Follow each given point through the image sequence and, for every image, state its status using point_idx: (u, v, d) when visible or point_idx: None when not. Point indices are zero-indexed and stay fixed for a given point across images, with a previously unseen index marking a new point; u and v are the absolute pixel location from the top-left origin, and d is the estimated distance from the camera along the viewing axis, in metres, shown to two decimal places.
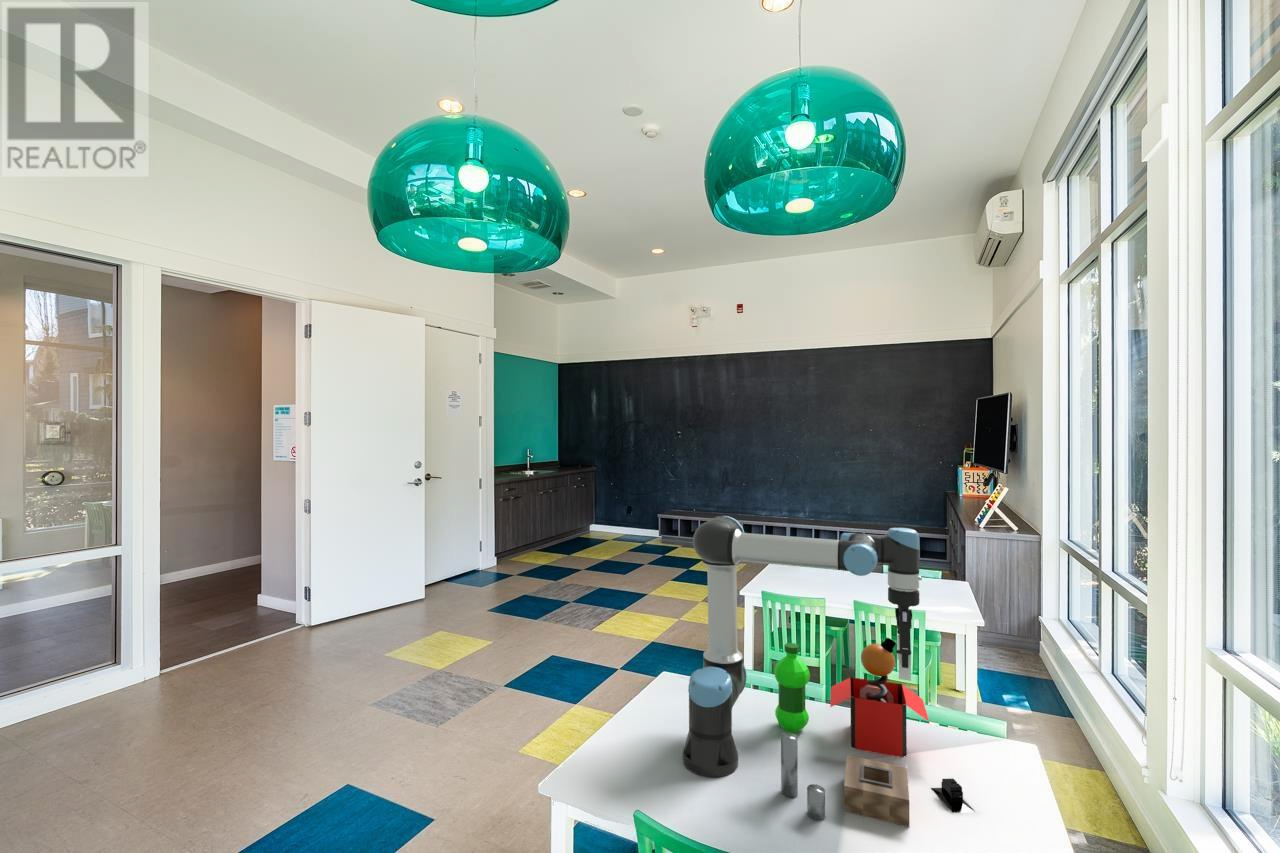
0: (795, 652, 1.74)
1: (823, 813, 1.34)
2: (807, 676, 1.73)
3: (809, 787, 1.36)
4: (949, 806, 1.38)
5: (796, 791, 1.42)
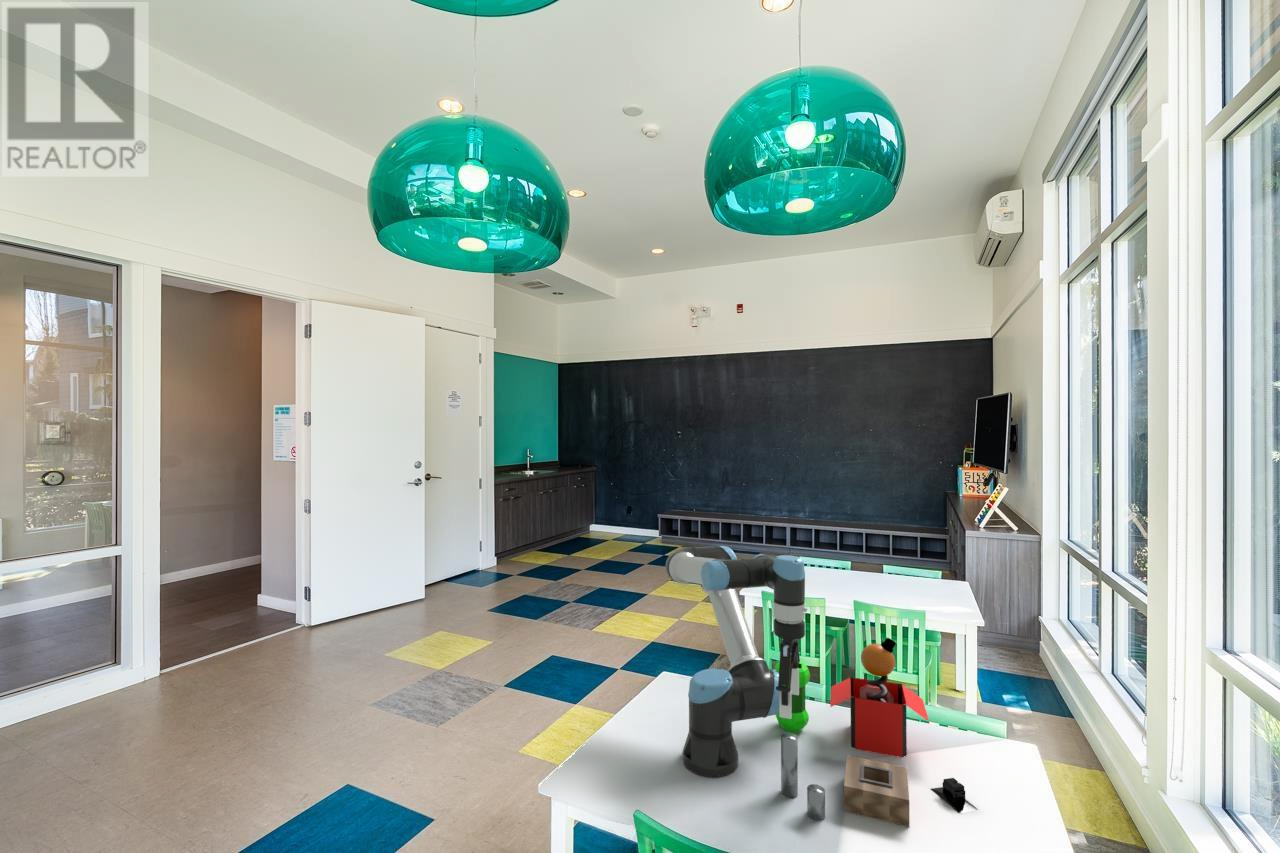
0: None
1: (823, 813, 1.34)
2: (807, 676, 1.73)
3: (809, 787, 1.36)
4: (954, 807, 1.38)
5: (796, 791, 1.42)
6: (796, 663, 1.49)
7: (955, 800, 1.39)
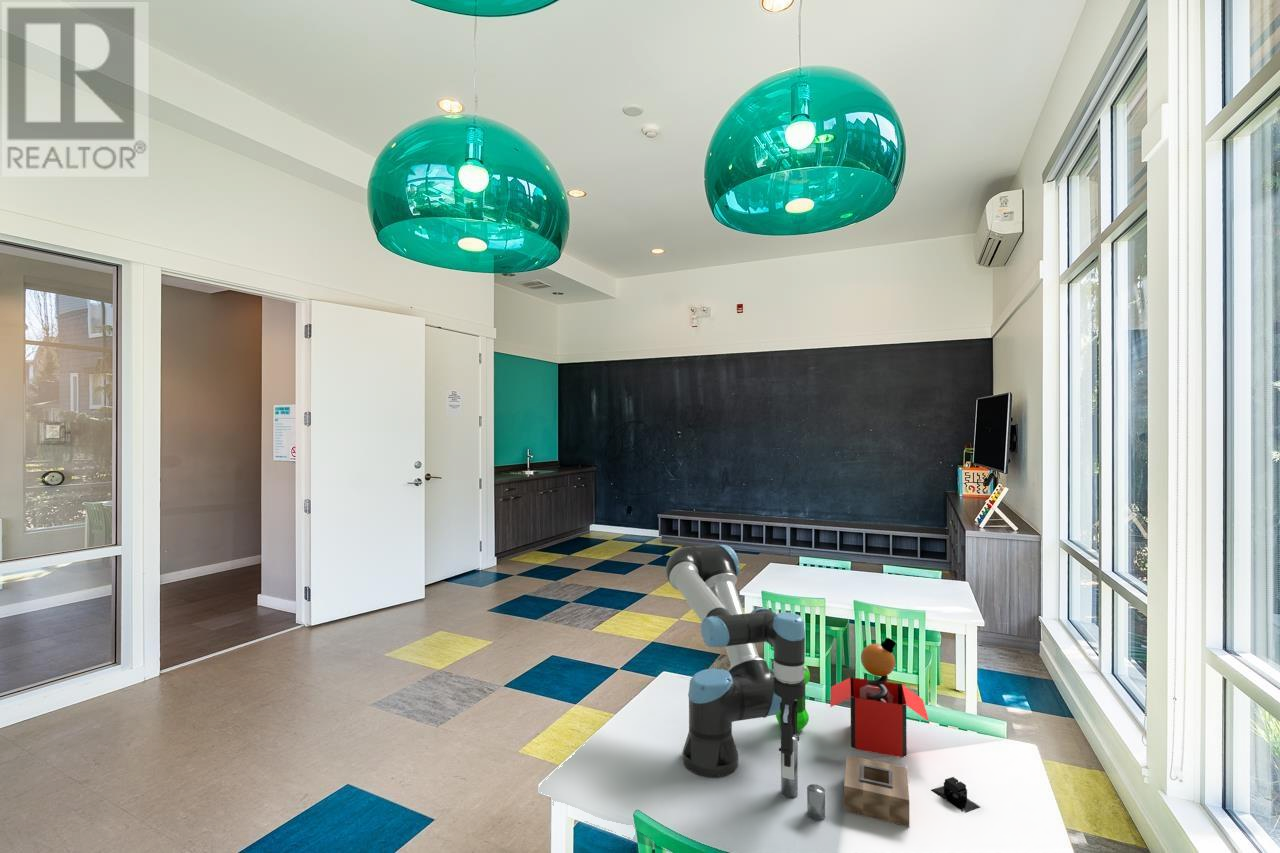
0: None
1: (823, 813, 1.34)
2: (807, 676, 1.73)
3: (809, 787, 1.36)
4: (958, 807, 1.38)
5: (796, 791, 1.42)
6: (794, 732, 1.45)
7: (958, 800, 1.39)
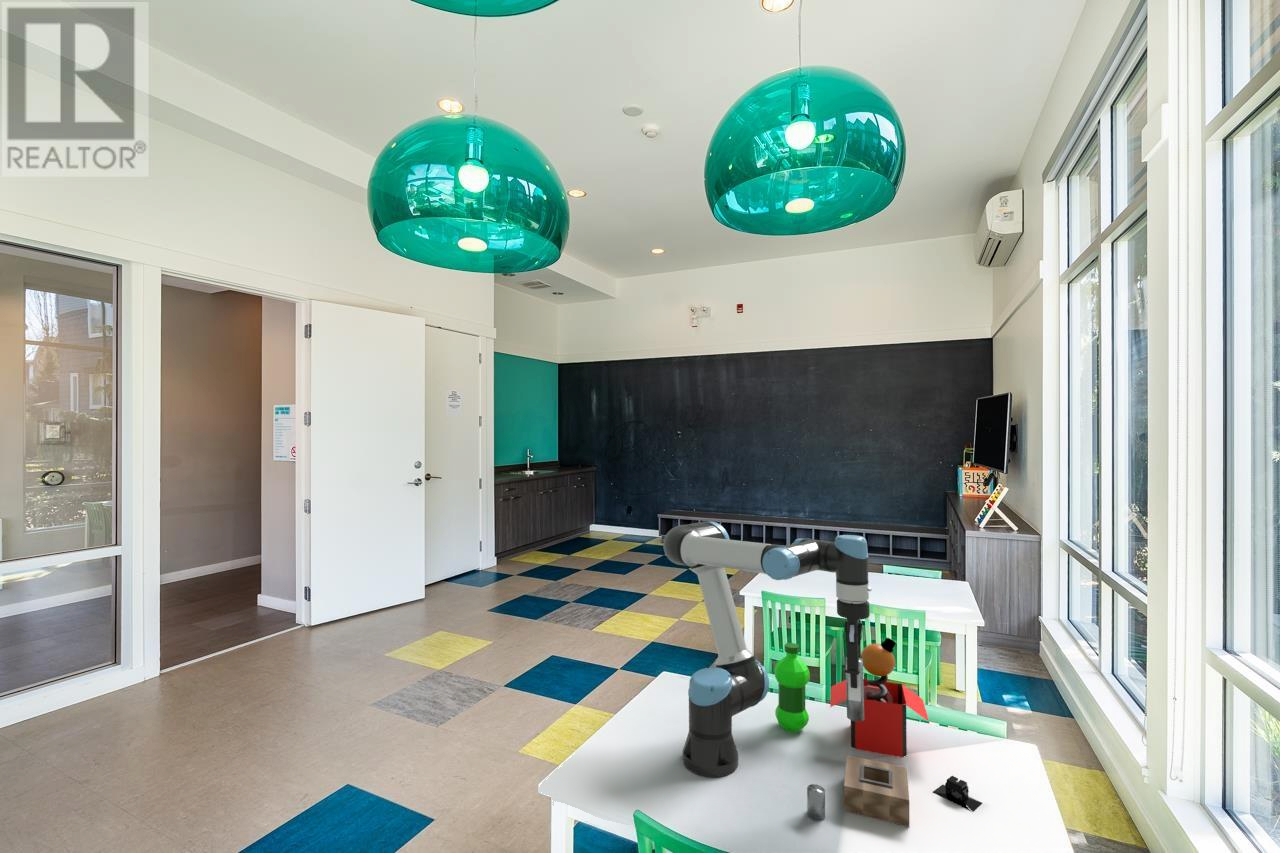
0: (795, 652, 1.74)
1: (823, 813, 1.34)
2: (808, 676, 1.73)
3: (809, 787, 1.36)
4: (964, 806, 1.38)
5: (863, 714, 1.39)
6: (858, 656, 1.43)
7: (963, 799, 1.39)
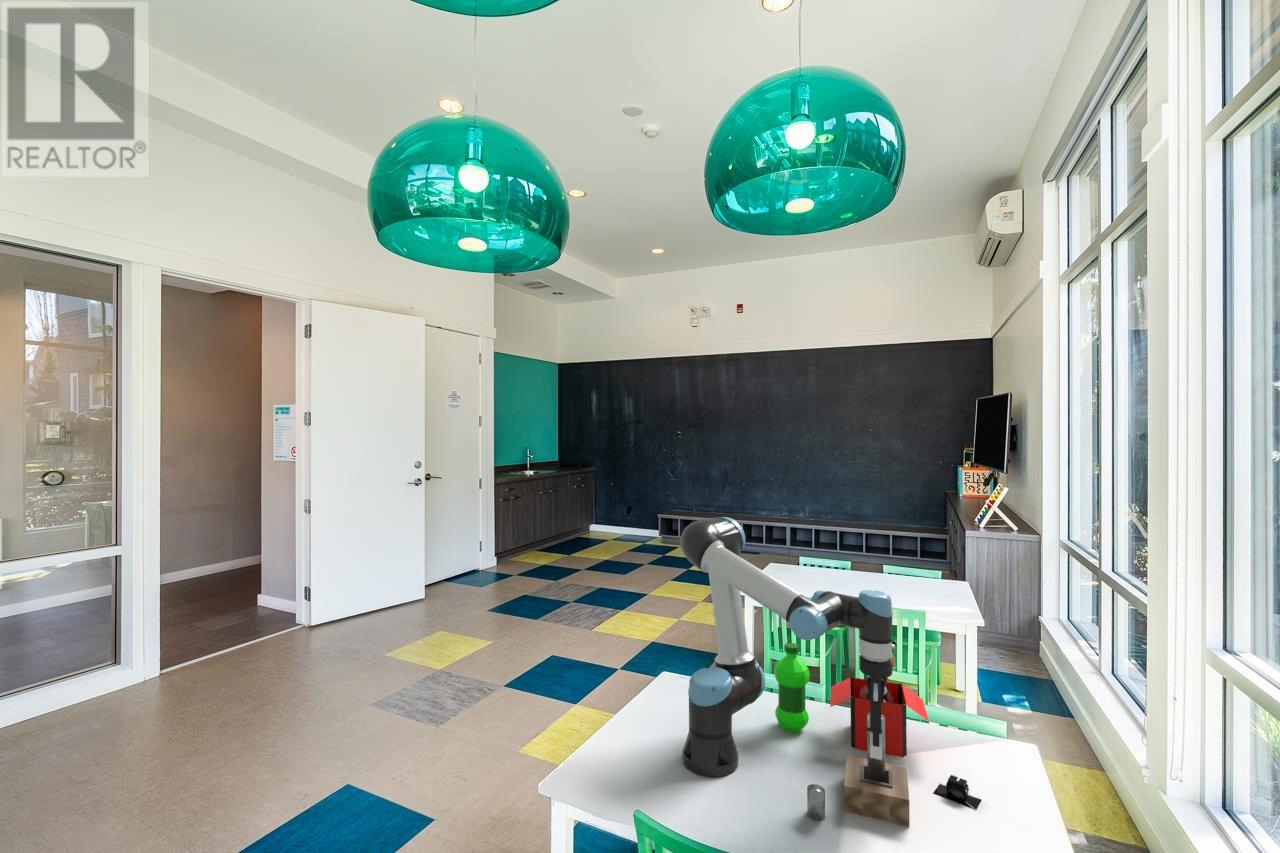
0: (795, 652, 1.74)
1: (823, 813, 1.34)
2: (807, 676, 1.73)
3: (809, 787, 1.36)
4: (967, 805, 1.39)
5: (884, 772, 1.39)
6: None
7: (965, 798, 1.40)
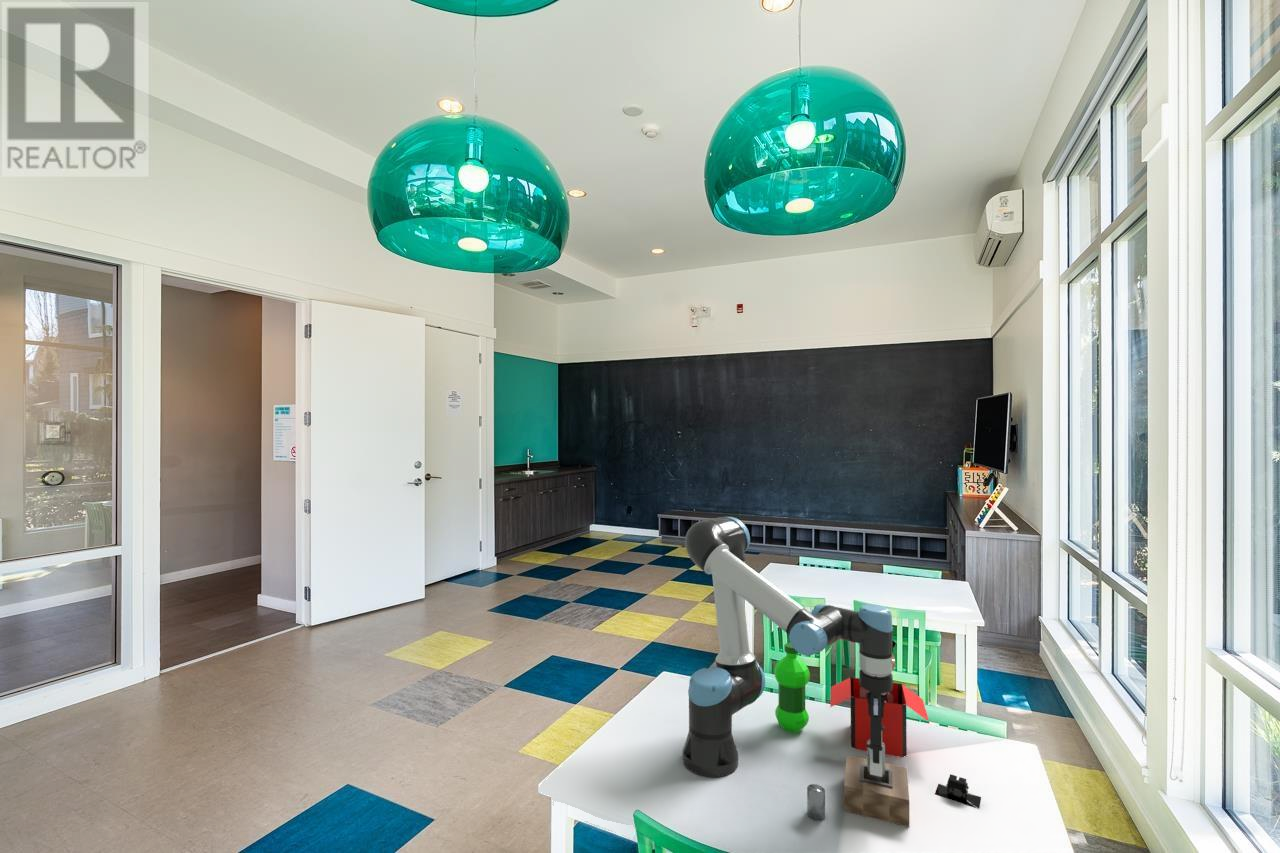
0: (795, 652, 1.74)
1: (823, 813, 1.34)
2: (807, 676, 1.73)
3: (809, 787, 1.36)
4: (969, 804, 1.39)
5: None
6: None
7: (966, 796, 1.40)
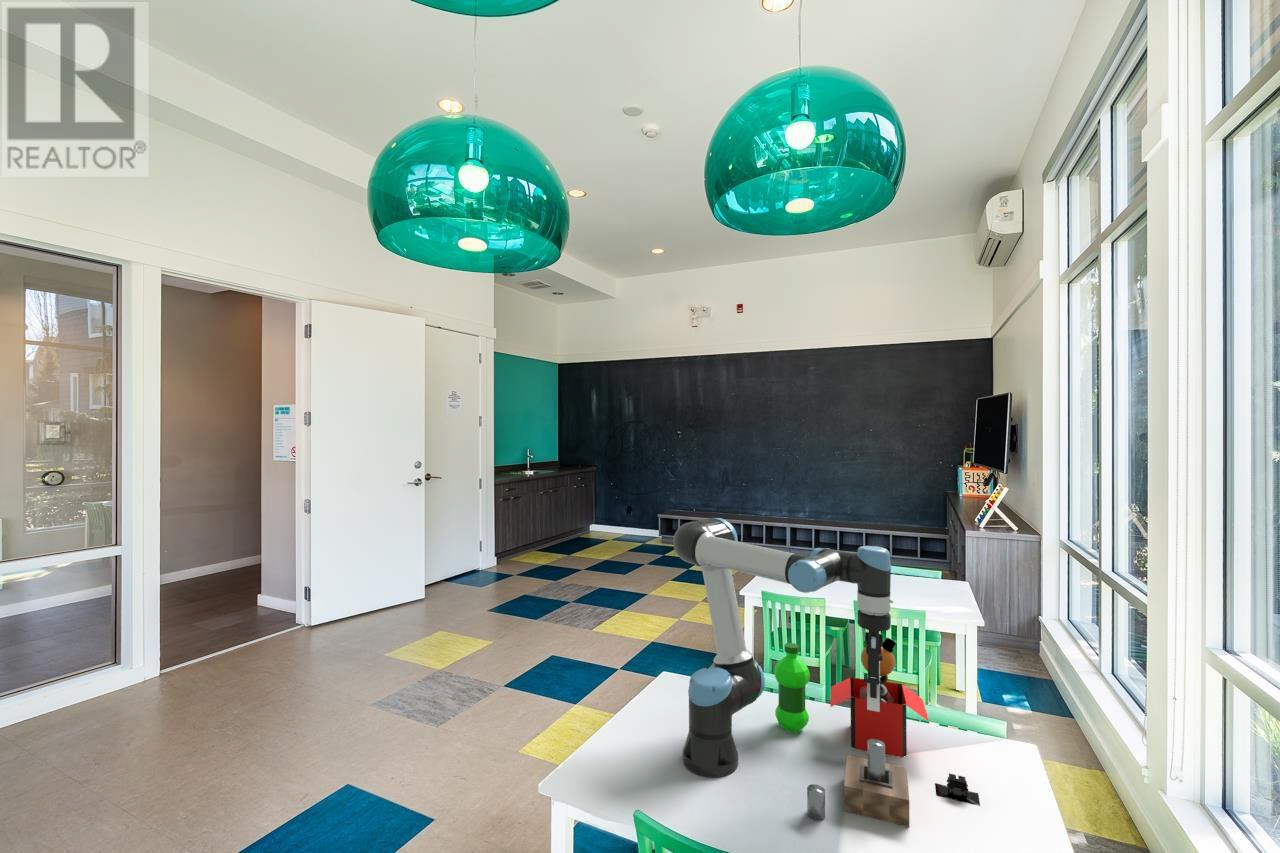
0: (795, 652, 1.74)
1: (823, 813, 1.34)
2: (807, 676, 1.73)
3: (809, 787, 1.36)
4: (971, 802, 1.40)
5: None
6: None
7: (967, 795, 1.41)
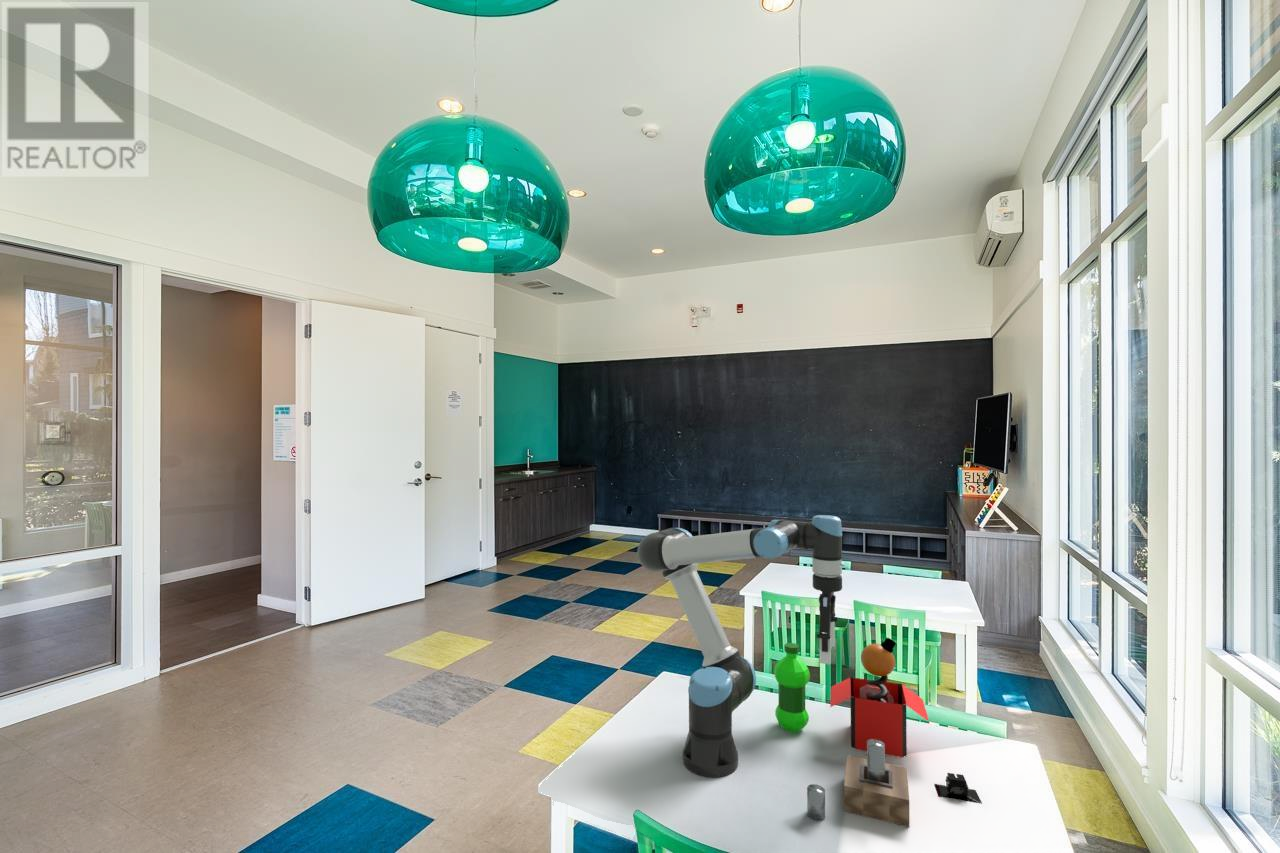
0: (795, 652, 1.74)
1: (823, 813, 1.34)
2: (807, 676, 1.73)
3: (809, 787, 1.36)
4: (972, 800, 1.40)
5: None
6: (832, 616, 1.59)
7: (967, 793, 1.42)
